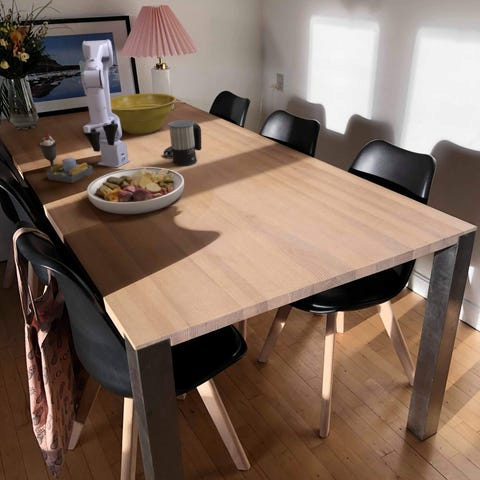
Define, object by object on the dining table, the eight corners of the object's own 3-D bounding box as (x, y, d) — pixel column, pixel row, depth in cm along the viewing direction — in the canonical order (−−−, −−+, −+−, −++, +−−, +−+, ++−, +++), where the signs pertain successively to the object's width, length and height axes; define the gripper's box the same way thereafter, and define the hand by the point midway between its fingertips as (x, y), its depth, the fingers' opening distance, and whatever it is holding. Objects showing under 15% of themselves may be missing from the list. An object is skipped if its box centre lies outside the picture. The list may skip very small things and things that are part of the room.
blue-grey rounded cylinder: (80, 174, 182) (77, 158, 179) (72, 179, 178) (69, 162, 175) (71, 173, 183) (68, 157, 181) (62, 177, 180) (59, 161, 177)
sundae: (57, 173, 184) (48, 132, 177) (40, 172, 185) (31, 132, 178) (66, 167, 190) (57, 127, 183) (49, 166, 191) (41, 127, 184)
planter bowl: (117, 121, 245) (112, 93, 239) (183, 120, 243) (180, 91, 237) (98, 141, 217) (92, 110, 210) (172, 140, 215) (169, 108, 209)
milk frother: (190, 167, 184) (187, 127, 177) (152, 164, 189) (147, 124, 182) (205, 155, 196) (203, 117, 189) (169, 152, 201) (165, 114, 194)
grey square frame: (93, 172, 183) (91, 162, 181) (72, 183, 174) (69, 172, 173) (69, 168, 187) (67, 158, 186) (48, 179, 179) (45, 168, 177)
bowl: (85, 189, 170) (80, 167, 166) (172, 175, 178) (170, 154, 175) (95, 226, 145) (90, 201, 141) (196, 207, 153) (194, 183, 150)
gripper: (92, 113, 160) (99, 155, 166) (121, 104, 172) (126, 143, 178) (75, 112, 163) (83, 153, 169) (104, 103, 175) (110, 141, 181)
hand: (104, 148), depth 174 cm, fingers open, 7 cm apart
